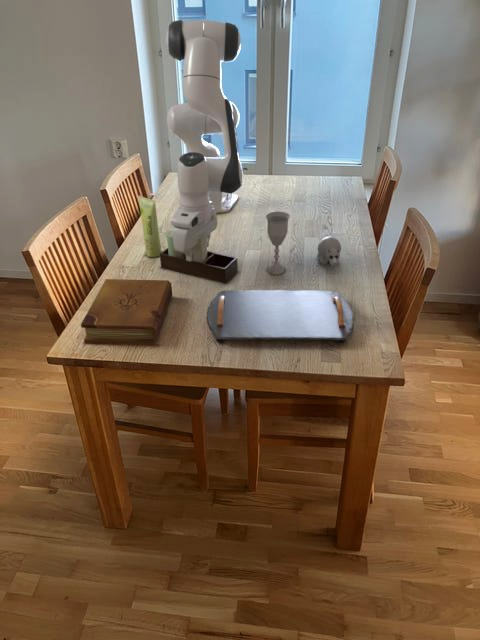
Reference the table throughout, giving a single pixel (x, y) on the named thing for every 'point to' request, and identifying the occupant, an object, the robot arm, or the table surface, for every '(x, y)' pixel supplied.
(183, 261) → the rack
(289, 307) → the serving tray
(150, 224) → the tube
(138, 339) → the diary
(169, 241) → the towel roll
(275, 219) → the chalice
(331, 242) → the round bodied animal figurine
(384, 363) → the table surface
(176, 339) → the table surface
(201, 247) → the cosmetic box
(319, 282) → the table surface
